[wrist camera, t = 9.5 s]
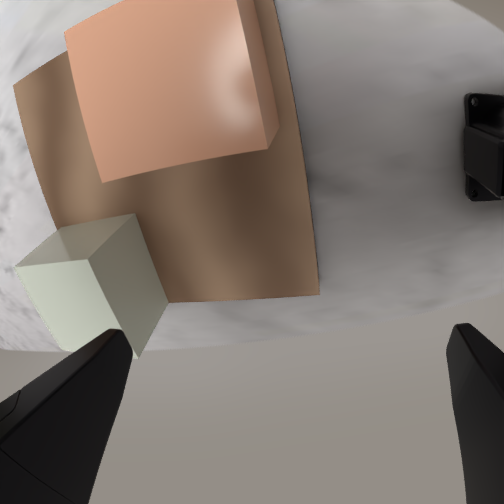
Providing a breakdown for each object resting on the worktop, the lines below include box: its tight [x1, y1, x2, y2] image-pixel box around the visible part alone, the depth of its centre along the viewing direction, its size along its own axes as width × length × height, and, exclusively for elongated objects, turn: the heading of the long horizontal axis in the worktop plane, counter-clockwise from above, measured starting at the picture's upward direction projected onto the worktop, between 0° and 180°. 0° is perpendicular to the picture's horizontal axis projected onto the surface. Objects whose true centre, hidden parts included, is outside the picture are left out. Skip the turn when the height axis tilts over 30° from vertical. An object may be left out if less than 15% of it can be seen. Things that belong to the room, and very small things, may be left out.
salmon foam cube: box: [64, 0, 280, 183], centre depth 12 cm, size 7×7×6 cm
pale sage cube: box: [14, 213, 169, 359], centre depth 19 cm, size 7×7×6 cm
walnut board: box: [13, 0, 320, 303], centre depth 18 cm, size 18×18×1 cm
